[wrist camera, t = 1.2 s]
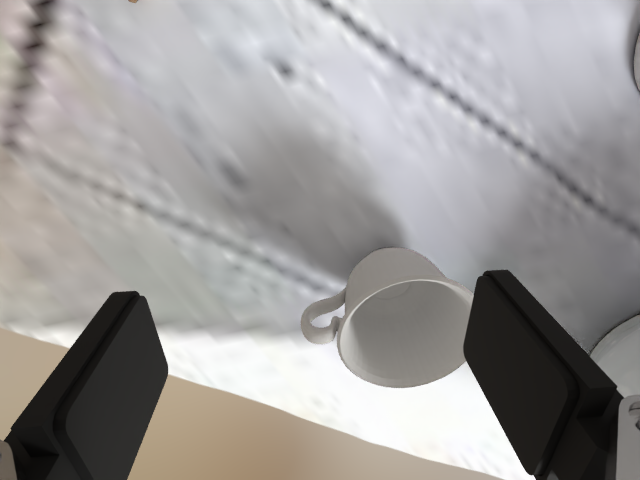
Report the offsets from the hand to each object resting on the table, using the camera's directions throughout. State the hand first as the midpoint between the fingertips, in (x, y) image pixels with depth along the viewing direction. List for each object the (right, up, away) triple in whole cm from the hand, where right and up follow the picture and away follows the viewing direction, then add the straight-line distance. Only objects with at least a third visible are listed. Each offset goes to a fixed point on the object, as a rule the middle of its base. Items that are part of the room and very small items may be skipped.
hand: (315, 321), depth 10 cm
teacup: (+5, -1, +28) cm, 28 cm away
